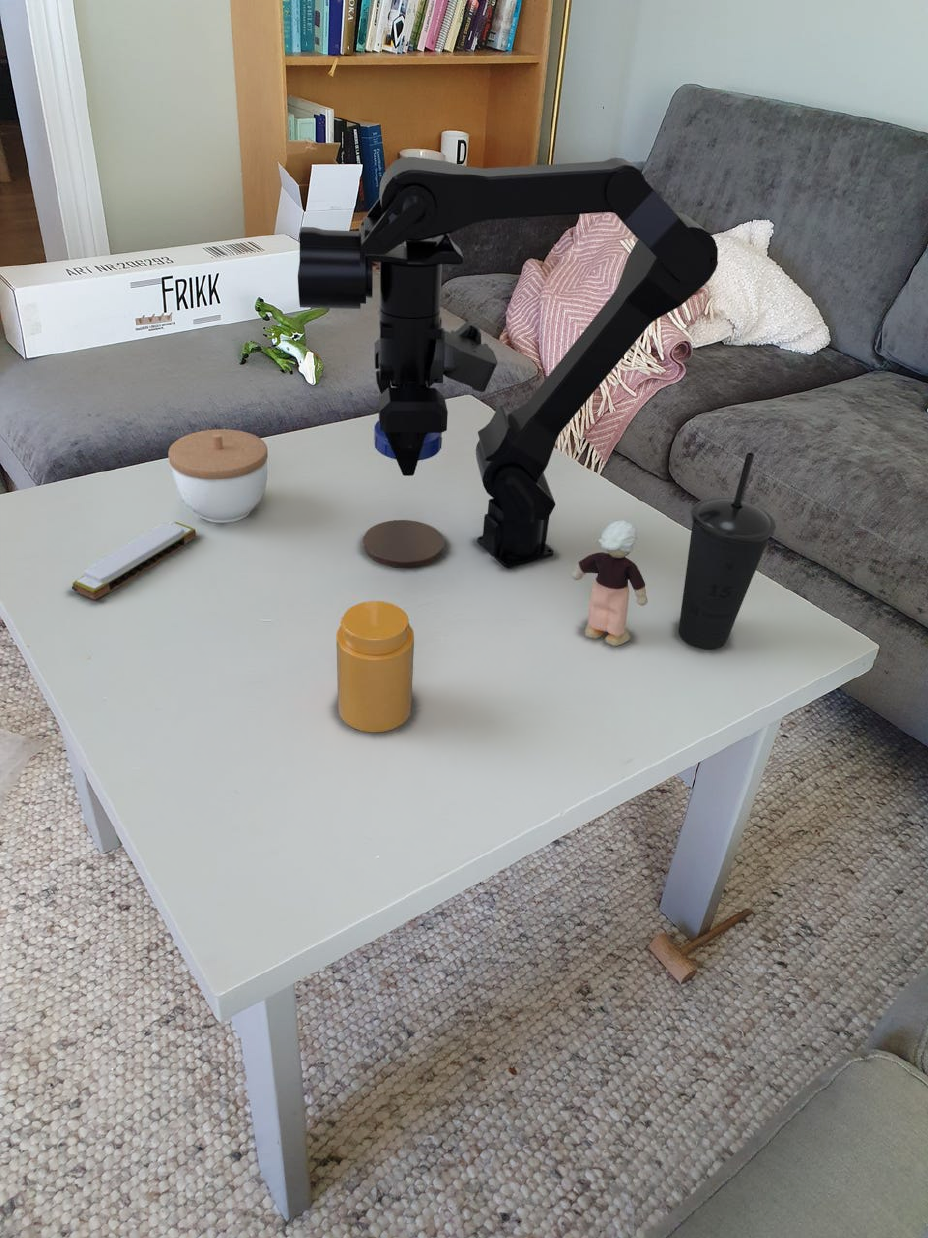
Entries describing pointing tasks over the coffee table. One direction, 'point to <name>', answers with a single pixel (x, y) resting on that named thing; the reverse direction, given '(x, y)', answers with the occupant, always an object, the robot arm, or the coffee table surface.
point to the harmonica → (133, 559)
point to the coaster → (403, 543)
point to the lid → (428, 449)
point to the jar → (374, 666)
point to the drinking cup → (721, 564)
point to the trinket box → (220, 473)
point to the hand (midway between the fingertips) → (406, 459)
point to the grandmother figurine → (612, 583)
